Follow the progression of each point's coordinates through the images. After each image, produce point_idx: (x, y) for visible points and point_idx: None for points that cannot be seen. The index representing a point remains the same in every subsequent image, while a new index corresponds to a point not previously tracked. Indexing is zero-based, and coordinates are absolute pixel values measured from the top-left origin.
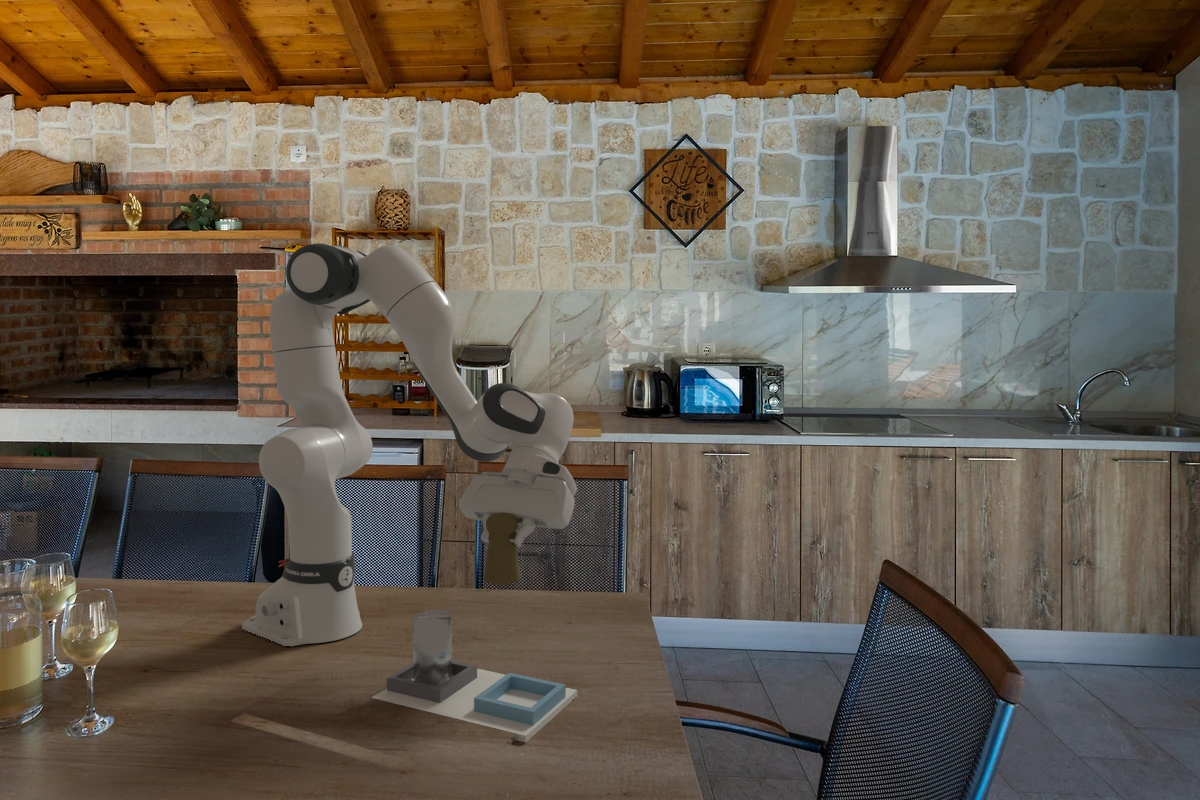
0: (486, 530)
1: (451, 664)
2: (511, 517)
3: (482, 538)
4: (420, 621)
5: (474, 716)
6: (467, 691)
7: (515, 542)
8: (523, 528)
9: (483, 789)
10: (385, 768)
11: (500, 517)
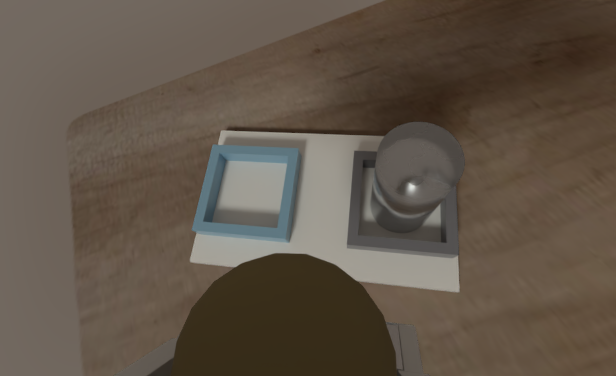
0: (400, 361)
1: (373, 203)
2: (181, 344)
3: (403, 324)
4: (422, 125)
5: (294, 145)
6: (337, 200)
7: None
8: (147, 362)
9: (236, 57)
10: (337, 48)
11: (250, 289)
